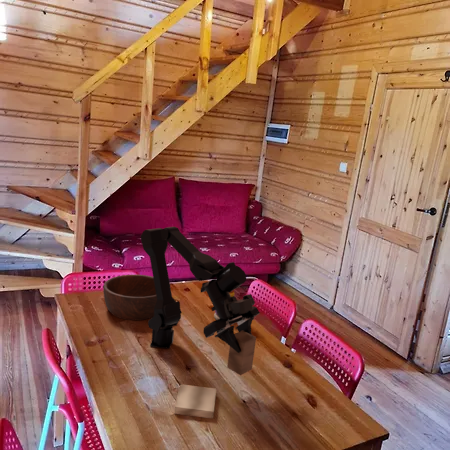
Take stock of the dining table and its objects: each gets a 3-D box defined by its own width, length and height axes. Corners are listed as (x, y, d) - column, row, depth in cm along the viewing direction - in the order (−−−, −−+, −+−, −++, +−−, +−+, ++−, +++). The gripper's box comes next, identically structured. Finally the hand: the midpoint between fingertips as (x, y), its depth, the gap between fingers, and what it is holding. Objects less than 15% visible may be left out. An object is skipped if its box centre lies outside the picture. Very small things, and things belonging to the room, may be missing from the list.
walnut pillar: (227, 367, 121) (231, 335, 119) (238, 361, 125) (242, 330, 123) (240, 375, 118) (244, 342, 116) (251, 369, 122) (256, 337, 120)
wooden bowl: (136, 330, 151) (138, 303, 149) (88, 309, 164) (89, 284, 162) (179, 309, 172) (182, 285, 170) (134, 292, 185) (135, 269, 183)
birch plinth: (174, 413, 110) (174, 406, 109) (179, 390, 120) (180, 384, 119) (212, 418, 110) (213, 411, 109) (215, 395, 119) (216, 388, 119)
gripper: (215, 293, 112) (242, 349, 107) (258, 280, 126) (284, 329, 121) (191, 311, 119) (216, 364, 114) (235, 296, 132) (259, 343, 128)
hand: (246, 349), depth 119 cm, fingers closed on walnut pillar, 5 cm apart
